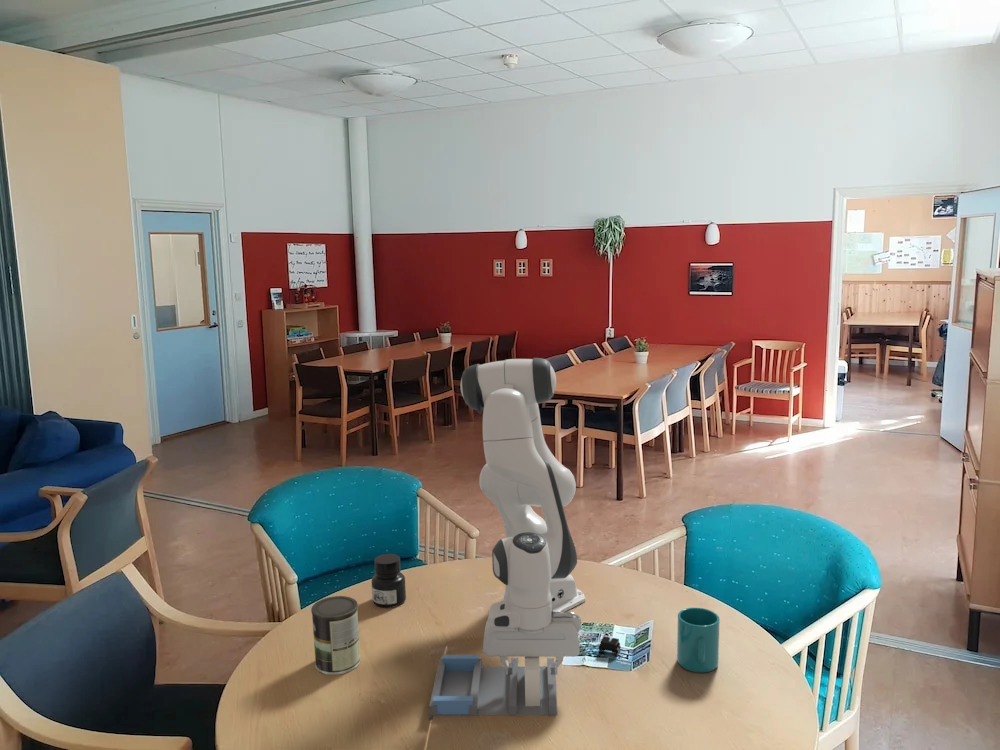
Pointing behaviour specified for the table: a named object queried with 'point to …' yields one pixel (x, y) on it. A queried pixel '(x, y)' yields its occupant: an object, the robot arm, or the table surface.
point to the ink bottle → (388, 582)
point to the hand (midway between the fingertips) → (531, 673)
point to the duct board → (487, 689)
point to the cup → (698, 639)
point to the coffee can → (336, 635)
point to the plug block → (532, 681)
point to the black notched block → (609, 645)
